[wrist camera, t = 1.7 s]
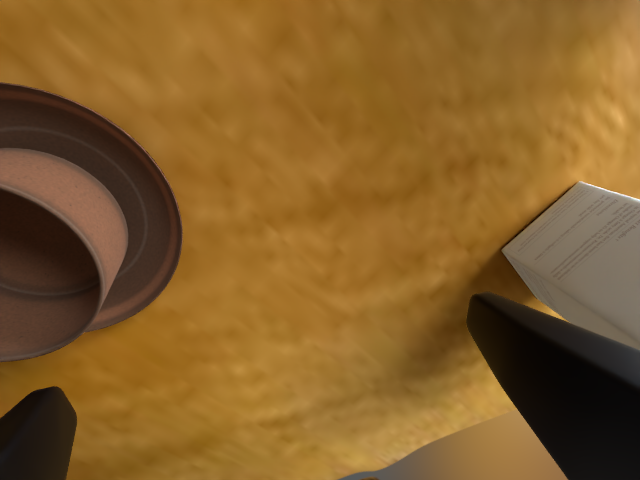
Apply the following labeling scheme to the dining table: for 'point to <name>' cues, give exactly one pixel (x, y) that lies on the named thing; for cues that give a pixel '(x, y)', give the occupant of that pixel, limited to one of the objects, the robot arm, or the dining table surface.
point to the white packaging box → (586, 261)
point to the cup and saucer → (76, 223)
